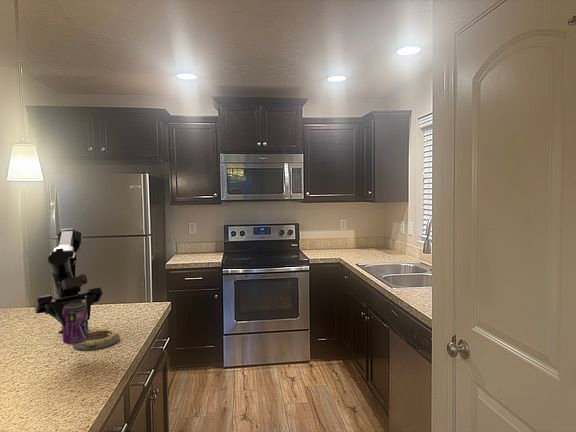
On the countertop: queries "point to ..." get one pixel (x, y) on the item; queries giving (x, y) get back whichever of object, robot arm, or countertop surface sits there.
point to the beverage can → (75, 323)
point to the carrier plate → (87, 348)
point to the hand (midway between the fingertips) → (76, 321)
